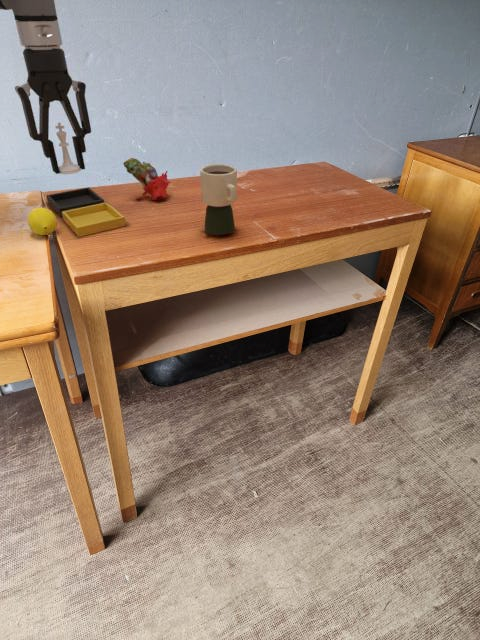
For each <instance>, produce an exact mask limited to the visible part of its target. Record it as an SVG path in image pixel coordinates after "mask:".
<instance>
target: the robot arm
mask: <svg viewBox="0 0 480 640" xmlns="http://www.w3.org/2000/svg"><path fill="white" fill-rule="evenodd" d="M55 3H56V2H55V0H0V10H3V11H4V10H5V11H10V10H11V11H12V13H13V17H14V21H15V25H16V30H17V34H18V38H19V42H20V45H21V46H22V47H24V48H23V50H22V55H23V59H24V63H25V67H26V73H27V79H26V82H25V83H23V84H22V85H16V86H14V90H15V92H16V93H17V95H18V97H19V99H20V102H21V106H22V110H23V113H24V118H25V122H26V126H27V131H28V134H29V137H30V138H31V139H32V140H34V141H38V142H40V143H41V148H42V151H43V155H44V157H45V158H47V159H49V161H50V165H51V169H52V172H53V173H55V174H56V175H58V174H60V172H59V164H58V159H57V155H56V150H55V146H54V142H53V141H52V140H51V139H49V136H50V135H49V131H50V130H49V127H50V126H49V125H50V107H51V106H50V105H51V103H53V102H55V101H57V102H59V103H60V104H61V106H62V109H63V111H64V113H65V116H66V117H67V120H68V122H69V125H70V126H71V128H72V131H73V133H74V135H73V136H72V135H71V139H72V144H73V147H74V153H75V158H76V163H77V164H76V165H79V166H80V169H81V171H82V170H86V166H85V165H86V164H85V161H84V155H83V153H87V148H86V143H85V137H86V135H88V134H91V133H92V126H91V120H90V116H89V111H88V106H87V101H86V88H87V85H86V83H85V82H83V81H79V80H74V79H72V77H71V76H70V74H69V69H68V65H67V59H66V54H65V50H63V48H61V46H62V45H63V39H62V34H61V29H60V23H59V20H58V14H57V9H56V4H55ZM71 87H72V90H73V92H74V94H75V100H76V105H77V110H78V115H79V120H80V121H79V120H78V118H77V115H76V113H75V111H74V108H73V107H72V104H71V101H70V99H69V96H68V94H69V92H70V90H71ZM31 90H32V92H34V93H35V94H36V95H37V97H38V105H39V109H38V110H39V111H38V113H39V114H38V115H39V117H38V118H39V122H38V123H39V124H38V125H39V127H38V128H39V129H38V128H37V124H36V120H35V116H34V111H33V107H32V103H31V100H30V96H31Z"/></svg>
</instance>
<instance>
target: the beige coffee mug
mask: <svg viewBox="0 0 480 640" xmlns="http://www.w3.org/2000/svg"><path fill="white" fill-rule="evenodd" d="M199 171H200V172H199V175H200V196H201V197H200V199H201V202H202V203H203V204H204V205H207V206H206V207H205V218H204V232H205V233H206V234H207V235H211V236H225V235H228V234H233V233H234V232H235V230H236V229H235V227H236V226H235V218H234V212H233V211H234V210H233V207H232V205H233V204H234V203H236V201H237V199H238V194H237V186H238V169H237V167H235V166H234V165H231V164H223V163H215V164H208V165H207V164H206V165H204V166H202V167H201V168H200V170H199Z"/></svg>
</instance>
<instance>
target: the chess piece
mask: <svg viewBox="0 0 480 640" xmlns="http://www.w3.org/2000/svg"><path fill="white" fill-rule="evenodd" d="M55 129H56V130H57V129H58V130H59V131H57V132H56V136H57V138H58V140H59V141H60V143H58V147H61V151H62V160H63V161H62V164H61V165H58V167H59V172H60V173H59V174H60V175H74V174H78V173H79V172H81V171H82V169H81V168H80V166H79V165H78V164H75V163H74V162H73V161H72V159H71V156H70V154H69V151H68V150H69V149H68V146H70V143H69V142H67V132H66V131H64V130H63V129H65V125H62V124H61V122H58V123H57V125H55Z"/></svg>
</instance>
